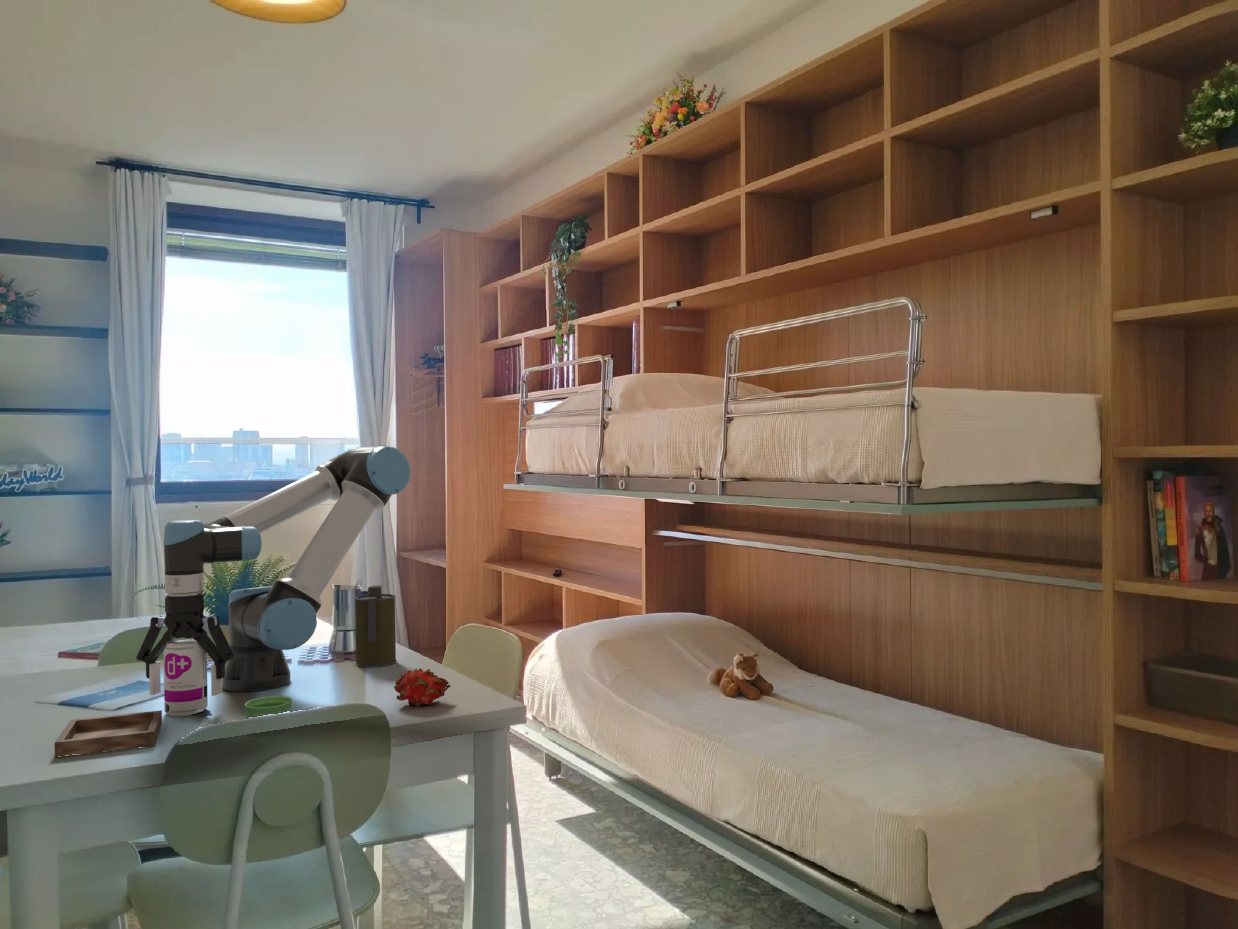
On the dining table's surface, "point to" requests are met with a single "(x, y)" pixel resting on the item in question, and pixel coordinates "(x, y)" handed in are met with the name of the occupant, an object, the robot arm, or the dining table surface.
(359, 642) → the canister
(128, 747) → the walnut tray
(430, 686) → the dragon fruit
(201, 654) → the supplement can
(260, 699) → the ramekin
